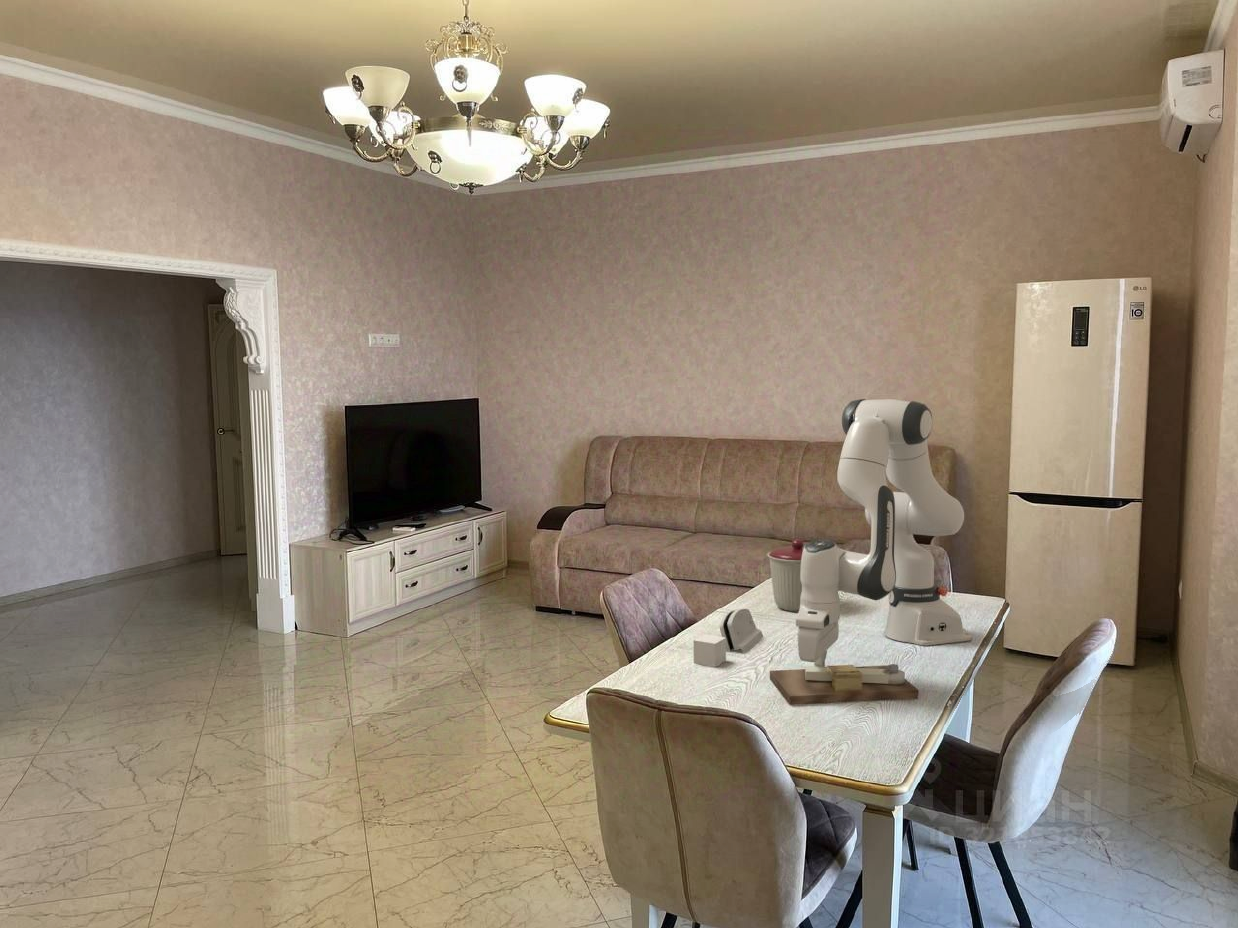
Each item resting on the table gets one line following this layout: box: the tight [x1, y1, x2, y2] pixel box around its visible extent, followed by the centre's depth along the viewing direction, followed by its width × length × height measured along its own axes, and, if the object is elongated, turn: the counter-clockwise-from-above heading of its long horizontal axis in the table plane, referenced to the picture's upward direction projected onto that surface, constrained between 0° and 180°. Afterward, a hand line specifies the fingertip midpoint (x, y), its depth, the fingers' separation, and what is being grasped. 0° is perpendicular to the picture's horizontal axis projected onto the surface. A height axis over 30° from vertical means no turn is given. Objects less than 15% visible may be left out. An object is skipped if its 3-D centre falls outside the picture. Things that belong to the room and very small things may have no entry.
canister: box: [766, 538, 805, 612], centre depth 279 cm, size 18×18×21 cm
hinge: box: [719, 608, 764, 654], centre depth 245 cm, size 17×5×10 cm, turn 154°
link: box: [804, 663, 906, 685], centre depth 209 cm, size 22×5×4 cm, turn 80°
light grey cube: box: [693, 633, 727, 668], centre depth 230 cm, size 6×6×6 cm
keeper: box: [826, 664, 862, 692], centre depth 205 cm, size 6×6×4 cm
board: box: [769, 664, 920, 706], centre depth 210 cm, size 29×17×2 cm, turn 95°
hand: (819, 669), depth 214 cm, fingers closed
